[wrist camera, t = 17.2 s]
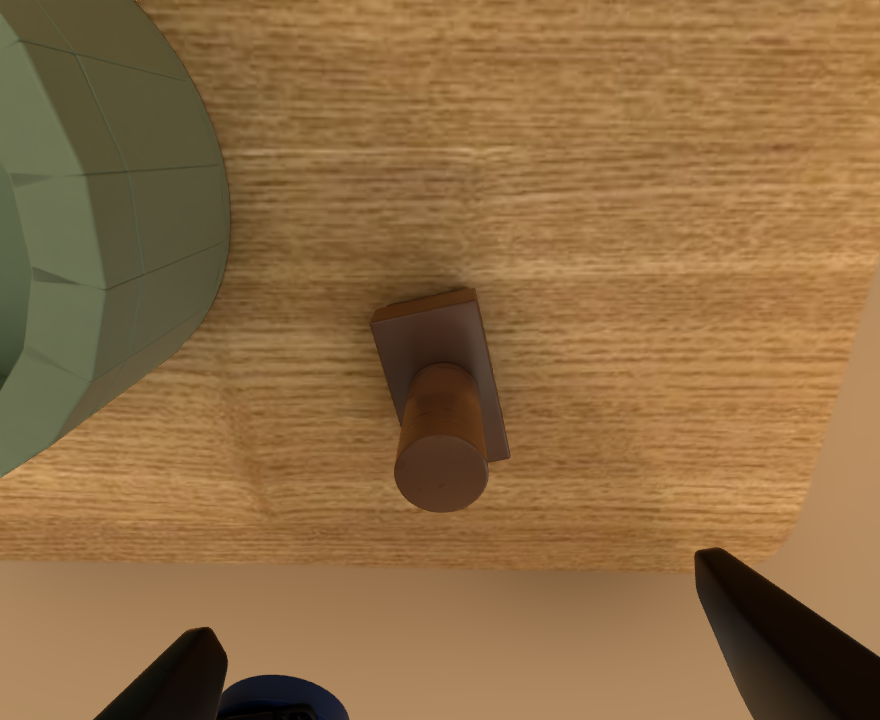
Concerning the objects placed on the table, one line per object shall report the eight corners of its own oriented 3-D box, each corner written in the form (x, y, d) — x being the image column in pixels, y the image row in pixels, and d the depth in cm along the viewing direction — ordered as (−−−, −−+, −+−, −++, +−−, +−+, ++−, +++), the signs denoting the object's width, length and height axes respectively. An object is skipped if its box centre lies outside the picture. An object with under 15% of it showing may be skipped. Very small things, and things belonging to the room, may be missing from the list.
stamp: (504, 423, 20) (529, 554, 14) (419, 439, 20) (404, 573, 14) (473, 279, 18) (486, 354, 11) (379, 300, 18) (339, 384, 12)
